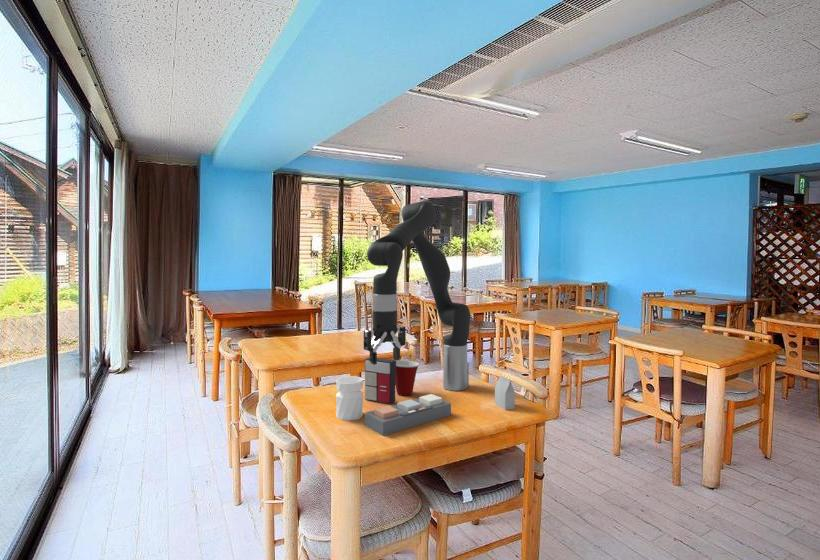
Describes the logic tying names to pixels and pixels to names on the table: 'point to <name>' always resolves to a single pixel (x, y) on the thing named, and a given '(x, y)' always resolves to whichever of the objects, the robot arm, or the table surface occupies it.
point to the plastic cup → (405, 377)
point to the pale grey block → (504, 393)
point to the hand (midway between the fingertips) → (385, 361)
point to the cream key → (430, 400)
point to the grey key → (408, 405)
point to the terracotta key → (385, 412)
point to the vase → (349, 398)
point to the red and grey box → (380, 380)
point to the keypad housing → (407, 418)
